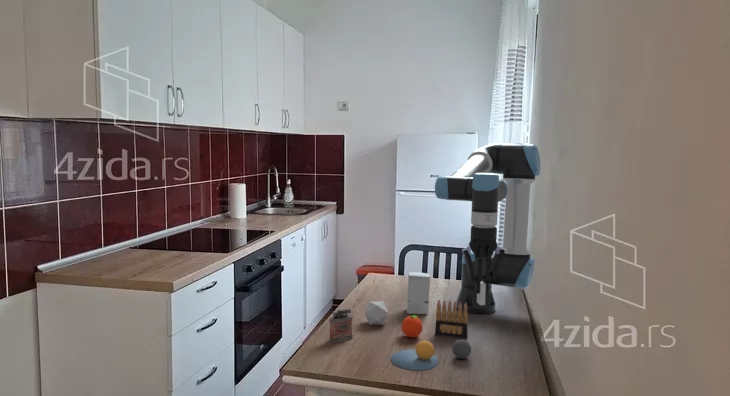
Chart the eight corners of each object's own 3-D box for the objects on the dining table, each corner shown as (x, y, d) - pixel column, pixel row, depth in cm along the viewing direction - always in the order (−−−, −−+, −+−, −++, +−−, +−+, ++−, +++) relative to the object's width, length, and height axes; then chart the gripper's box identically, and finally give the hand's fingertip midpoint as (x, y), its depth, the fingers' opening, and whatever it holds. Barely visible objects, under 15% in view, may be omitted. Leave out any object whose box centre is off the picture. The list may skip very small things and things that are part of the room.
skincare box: (406, 313, 187) (407, 275, 186) (406, 308, 193) (407, 271, 192) (429, 314, 187) (430, 276, 185) (428, 309, 193) (429, 272, 191)
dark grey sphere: (455, 333, 150) (446, 349, 150) (462, 341, 145) (453, 357, 145) (469, 340, 152) (461, 356, 152) (477, 348, 147) (468, 364, 147)
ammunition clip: (467, 336, 166) (468, 301, 164) (467, 338, 164) (468, 303, 163) (435, 333, 169) (436, 298, 167) (434, 334, 167) (435, 300, 166)
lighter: (331, 343, 158) (332, 312, 157) (327, 339, 161) (327, 309, 160) (354, 339, 162) (354, 309, 161) (349, 335, 165) (350, 306, 164)
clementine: (410, 330, 171) (411, 310, 170) (427, 335, 166) (428, 314, 165) (397, 337, 164) (397, 316, 164) (414, 342, 160) (415, 321, 159)
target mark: (430, 349, 155) (430, 348, 155) (444, 368, 141) (444, 368, 141) (386, 351, 153) (386, 350, 153) (396, 371, 139) (396, 370, 139)
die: (380, 331, 171) (394, 307, 173) (359, 318, 172) (373, 294, 174) (379, 331, 179) (393, 308, 181) (359, 318, 180) (373, 295, 182)
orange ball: (426, 334, 150) (410, 344, 149) (430, 341, 144) (414, 351, 144) (434, 349, 151) (419, 358, 150) (439, 356, 145) (423, 366, 145)
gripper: (467, 228, 141) (464, 308, 144) (510, 227, 143) (506, 307, 146) (458, 224, 149) (455, 300, 151) (499, 223, 151) (496, 299, 153)
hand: (480, 303), depth 148 cm, fingers closed
